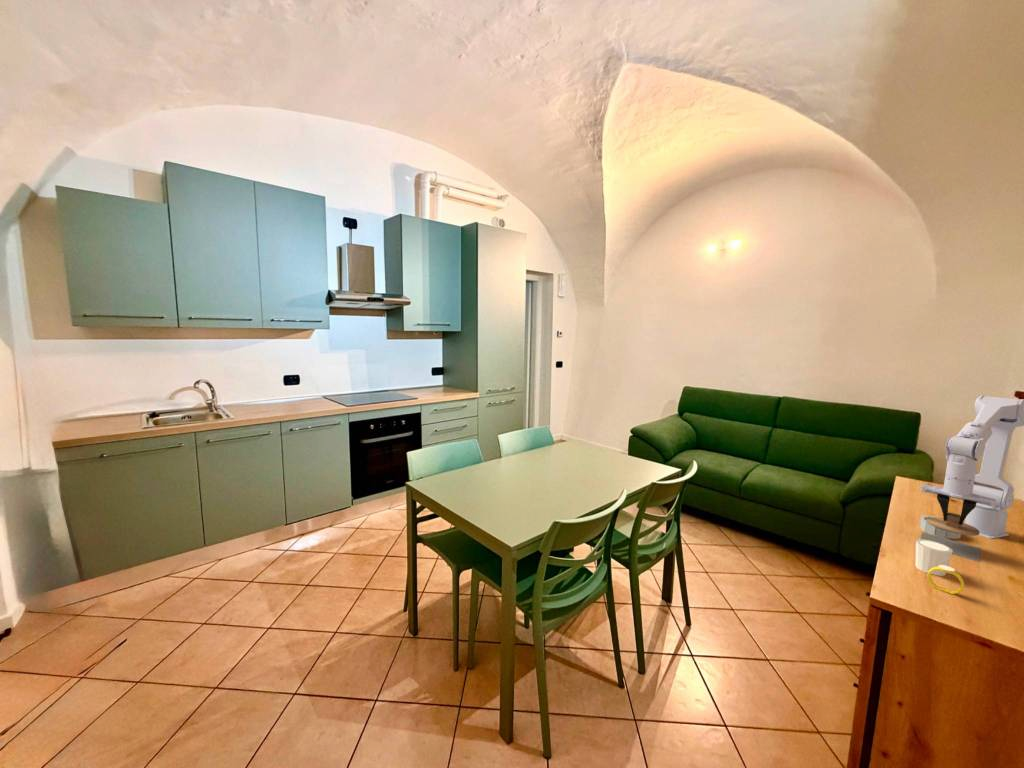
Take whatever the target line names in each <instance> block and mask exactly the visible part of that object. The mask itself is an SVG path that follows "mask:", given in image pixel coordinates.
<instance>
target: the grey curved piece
mask: <svg viewBox="0 0 1024 768" xmlns="http://www.w3.org/2000/svg"><path fill="white" fill-rule="evenodd" d="M929 517H934V516H931V515H922V516H920V520H919V521H920V522H919V529H920V530H921V531H924V533H927V534H931V535H934V536H938V537H942V538H946V539H949V540H958V539H961V537H962V534H957V533H952V532H948V531H945V530H942V529H939V528H937V527H934V526H932V525H930V524H929V523H928V522H927V518H929Z"/></svg>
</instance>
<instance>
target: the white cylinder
mask: <svg viewBox="0 0 1024 768" xmlns="http://www.w3.org/2000/svg"><path fill="white" fill-rule="evenodd" d="M952 552H953V550H952V549H951V548H950V547H948V546H946V545H944V544H941V543H938V542H934V541H931V540H925V539H920V538H918V539H915V568H916V569H918V570H920V571H921V570H922V571H921V572H924V573H926V572H927V573H926V574H928V572H929V570H930V569H932V568H933V567H938V566H939V565H945V566H949V564H950V561H951V558H952V555H953V554H952ZM932 574H934V575H933V576H937V575H938V577H944V576H946V574H947V573H946V572H943V571H941V570H935V571H933V572H931V574H930V575H932Z"/></svg>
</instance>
